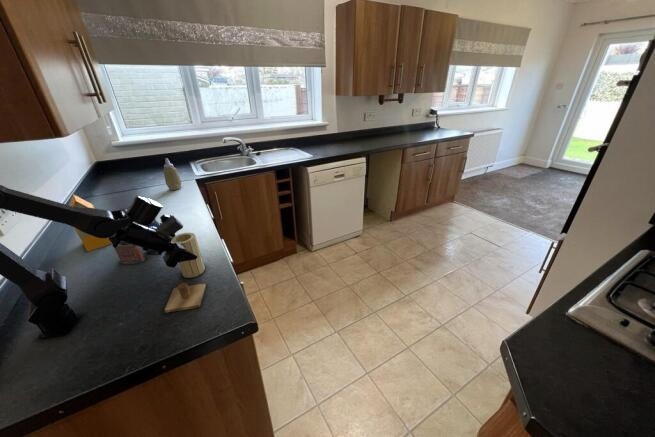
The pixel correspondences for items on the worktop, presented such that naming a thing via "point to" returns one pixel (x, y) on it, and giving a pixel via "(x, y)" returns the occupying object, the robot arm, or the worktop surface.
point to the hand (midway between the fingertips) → (193, 253)
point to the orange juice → (88, 240)
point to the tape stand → (185, 297)
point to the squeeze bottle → (171, 176)
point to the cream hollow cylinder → (191, 245)
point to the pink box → (129, 253)
